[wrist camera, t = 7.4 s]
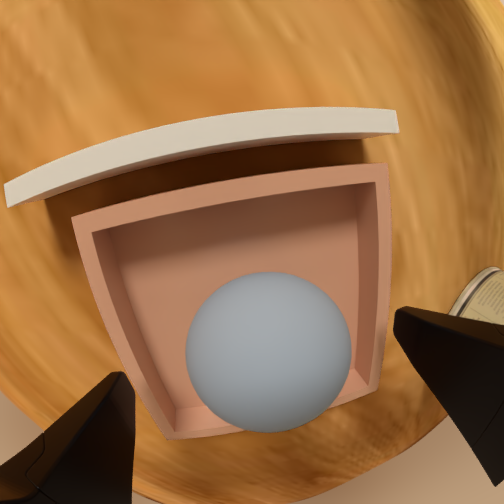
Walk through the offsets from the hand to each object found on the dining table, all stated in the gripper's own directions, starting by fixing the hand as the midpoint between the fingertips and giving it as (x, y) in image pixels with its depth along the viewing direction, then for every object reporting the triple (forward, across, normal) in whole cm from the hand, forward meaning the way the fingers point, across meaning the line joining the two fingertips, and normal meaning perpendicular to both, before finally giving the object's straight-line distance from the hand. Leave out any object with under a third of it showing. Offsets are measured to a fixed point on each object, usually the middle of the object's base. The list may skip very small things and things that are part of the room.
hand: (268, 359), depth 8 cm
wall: (+3, +1, -6) cm, 7 cm away
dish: (+3, 0, 0) cm, 3 cm away
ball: (+3, 0, 0) cm, 3 cm away
